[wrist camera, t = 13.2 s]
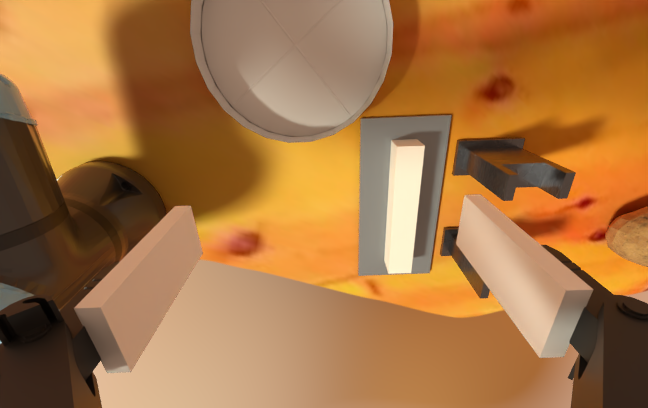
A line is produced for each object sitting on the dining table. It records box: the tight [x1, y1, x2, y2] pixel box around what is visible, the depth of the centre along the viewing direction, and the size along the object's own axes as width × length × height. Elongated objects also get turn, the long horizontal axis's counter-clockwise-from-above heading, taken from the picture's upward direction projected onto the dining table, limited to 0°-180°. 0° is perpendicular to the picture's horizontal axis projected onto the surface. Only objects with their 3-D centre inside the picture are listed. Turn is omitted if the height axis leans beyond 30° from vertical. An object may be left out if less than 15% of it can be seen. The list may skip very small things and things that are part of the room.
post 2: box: [452, 138, 576, 201], centre depth 38 cm, size 9×5×12 cm, turn 92°
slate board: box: [358, 115, 452, 276], centre depth 46 cm, size 12×26×1 cm, turn 2°
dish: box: [190, 0, 393, 143], centre depth 35 cm, size 22×22×5 cm
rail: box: [384, 139, 425, 274], centre depth 44 cm, size 4×20×4 cm, turn 2°
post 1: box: [440, 227, 490, 298], centre depth 44 cm, size 9×5×12 cm, turn 92°
